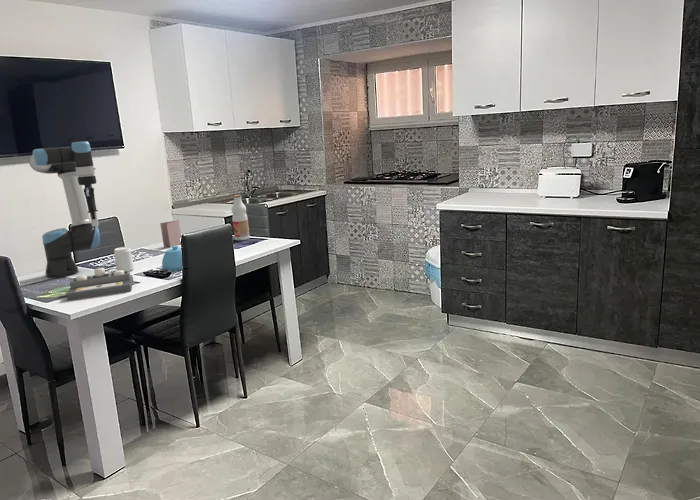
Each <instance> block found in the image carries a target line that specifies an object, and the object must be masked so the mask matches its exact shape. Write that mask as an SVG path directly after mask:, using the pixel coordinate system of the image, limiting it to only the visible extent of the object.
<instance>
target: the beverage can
mask: <svg viewBox="0 0 700 500" xmlns="http://www.w3.org/2000/svg"><path fill="white" fill-rule="evenodd" d="M113 255H114V260H115V265H116V266H115V267H116V271H118V270H124V271H129V270H130V272H131V271H133V270H134V269H135V267H134V261H133V256H132V249H131V248H130V247H129V246H120V247H116V248H115V249H114V251H113Z"/></svg>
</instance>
